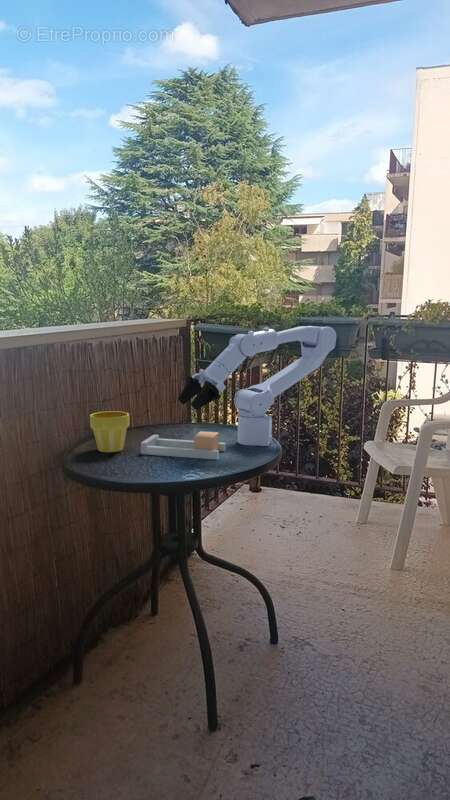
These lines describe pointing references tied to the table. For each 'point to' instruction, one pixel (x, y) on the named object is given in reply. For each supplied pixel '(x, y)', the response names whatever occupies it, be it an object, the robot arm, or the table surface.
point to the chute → (177, 448)
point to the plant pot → (109, 429)
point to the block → (206, 440)
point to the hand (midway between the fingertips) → (186, 404)
